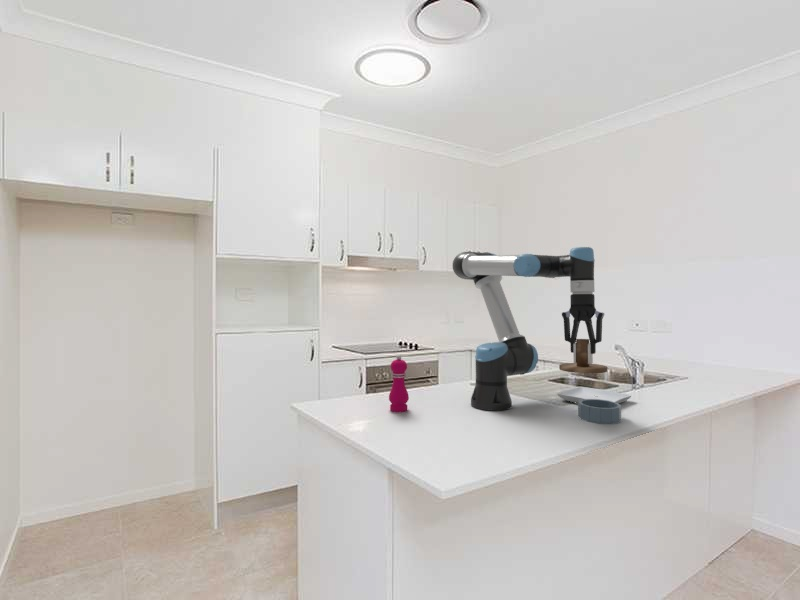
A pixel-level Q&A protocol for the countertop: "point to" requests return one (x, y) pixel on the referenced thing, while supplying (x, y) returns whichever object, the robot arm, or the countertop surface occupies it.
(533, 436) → the countertop surface
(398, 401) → the pepper mill
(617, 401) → the salad plate
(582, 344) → the lid
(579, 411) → the bowl
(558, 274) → the robot arm
